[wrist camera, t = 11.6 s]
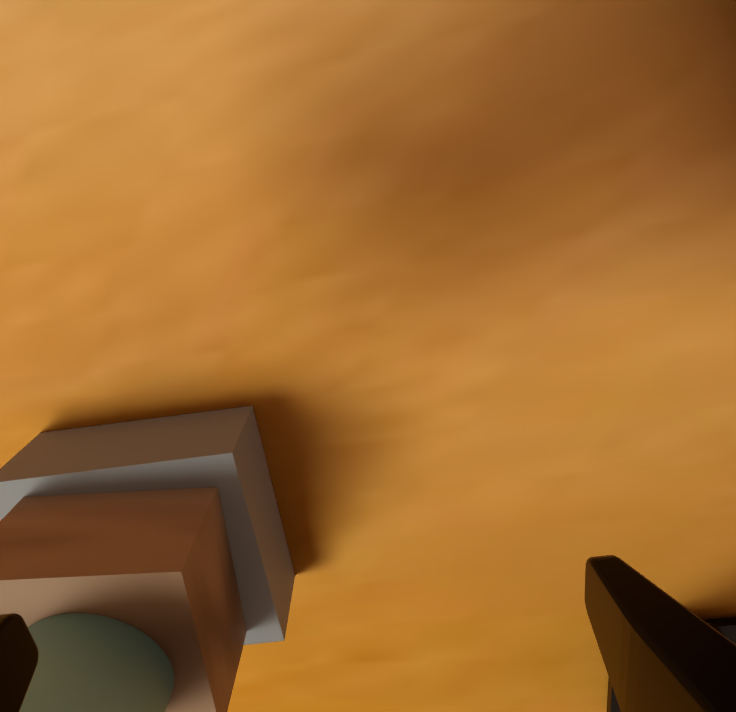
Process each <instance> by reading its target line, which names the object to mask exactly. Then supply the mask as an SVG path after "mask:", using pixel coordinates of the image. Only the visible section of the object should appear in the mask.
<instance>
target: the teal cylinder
mask: <svg viewBox="0 0 736 712" xmlns="http://www.w3.org/2000/svg"><path fill="white" fill-rule="evenodd" d="M28 629H29V631H30V633H31V635H32V637H33V639H34V641H35V643H36V645H37V647H38V652H39V657H38V663H37V667H36V669H35V672H34V675H33V677H32V680H31V682H30V685H29V688H28V690H27V693H26V696H25V698H24V701H23V703H22V706H21V709H20V711H19V712H165V711H166V708H167V705H168V703H169V700H170V697H171V694H172V691H173V688H174V672H173V667H172V665H171V663H170V660H169V659H168V657H167V655H166V654H165V652H164V651H163V650H162V649H161V647H160V646H159V645H158V644H157V643H156V642H155V641H154V640H153V639H151V638H150V637H149V636H147V635H146V634H145V633H143V632H142V631H140V630H138V629H137V628H135V627H133V626H131V625H129V624H127V623H124V622H122V621H119V620H116V619H113V618H110V617H106V616H102V615H96V614H88V613H66V614H59V615H54V616H50V617H47V618H44V619H41V620H39V621H37V622H35V623H34V624H32V625H31V626H29V627H28Z"/></svg>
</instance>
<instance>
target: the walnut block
mask: <svg viewBox="0 0 736 712" xmlns="http://www.w3.org/2000/svg"><path fill="white" fill-rule="evenodd" d="M10 613H16V614H19V615H20V616H22V618H23V619H24V621H25V623H26V625H27V627H29V626H31V625H32V624H34V623H35V622H37V621H39V620H41V619H44V618H47V617H50V616H54V615H59V614H66V613H88V614H96V615H102V616H106V617H110V618H113V619H116V620H119V621H122V622H124V623H127V624H129V625H131V626H133V627H135V628H137V629H138V630H140V631H142V632H143V633H145V634H146V635H147V636H149V637H150V638H151V639H153V640H154V641H155V642H156V643H157V644H158V645H159V646H160V647H161V649H162V650H163V651H164V652H165V654H166V655H167V657H168V659H169V660H170V663H171V665H172V667H173V672H174V688H173V691H172V694H171V697H170V700H169V703H168V705H167V708H166V711H165V712H227V710H228V706H229V702H230V698H231V693H232V689H233V685H234V681H235V677H236V673H237V669H238V665H239V661H240V657H241V653H242V649H243V645H244V641H245V636H246V632H247V630H246V625H245V620H244V615H243V610H242V605H241V600H240V595H239V590H238V585H237V580H236V575H235V571H234V566H233V561H232V556H231V551H230V546H229V541H228V536H227V531H226V526H225V521H224V516H223V511H222V506H221V501H220V496H219V491H218V487H207V488H188V489H169V490H150V491H130V492H111V493H92V494H72V495H53V496H34V497H23V498H22V499H21V500H20V501H19V502H18V503H17V504H16V505H15V506H14V507H13V508H12V509H11V510H10V512H9V513H8V514H7V515H6V516H5V517H4V518H3V519H2V520H1V521H0V614H10Z"/></svg>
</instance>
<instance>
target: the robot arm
mask: <svg viewBox="0 0 736 712" xmlns="http://www.w3.org/2000/svg"><path fill="white" fill-rule="evenodd" d="M585 604H586V609H587V613H588V616H589V619H590V622H591V625H592V628H593V631H594V634H595V637H596V640H597V643H598V646H599V649H600V652H601V655H602V658H603V661H604V663H605V666H606V669H607V672H608V675H609V681H608V699H607V712H736V618H725V619H714V620H702V619H700V618H699V617H698V616H696V615H695V614H694V613H692V612H691V611H690V610H688V609H687V608H686V607H684V606H683V605H682V604H680V603H679V602H678V601H676V600H675V599H674V598H672V597H671V596H670V595H668V594H667V593H666V592H664V591H663V590H662V589H660V588H659V587H657V586H656V585H655V584H653V583H652V582H651V581H649V580H648V579H647V578H645V577H644V576H643V575H641V574H640V573H639V572H637V571H636V570H635V569H633V568H632V567H631V566H629V565H628V564H627V563H625V562H624V561H623V560H621V559H620V558H618V557H616V556H613V555H607V556H597V557H590V558H589V559H588V560H587V562H586V572H585ZM38 657H39V652H38V647H37V645H36V643H35V641H34V639H33V637H32V635H31V633H30V631H29V629H28V627H27V625H26V623H25V621H24V619H23V618H22V616H20V615H19V614H16V613H10V614H0V712H19V711H20V709H21V706H22V703H23V701H24V698H25V696H26V693H27V690H28V688H29V685H30V682H31V680H32V677H33V675H34V672H35V669H36V667H37V663H38Z"/></svg>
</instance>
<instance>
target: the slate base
mask: <svg viewBox="0 0 736 712" xmlns="http://www.w3.org/2000/svg"><path fill="white" fill-rule="evenodd" d="M207 487H218V491H219V496H220V501H221V506H222V511H223V516H224V521H225V526H226V531H227V536H228V541H229V546H230V551H231V556H232V561H233V566H234V571H235V575H236V580H237V585H238V590H239V595H240V600H241V605H242V610H243V615H244V620H245V625H246V630H247V632H246V636H245V641H244V645H247V644H257V643H266V642H275V641H284V639H285V633H286V627H287V621H288V615H289V609H290V602H291V596H292V590H293V584H294V578H295V573H294V569H293V565H292V561H291V557H290V553H289V549H288V545H287V541H286V537H285V533H284V530H283V526H282V522H281V518H280V514H279V510H278V506H277V502H276V498H275V494H274V490H273V486H272V482H271V478H270V474H269V470H268V466H267V462H266V458H265V454H264V450H263V446H262V442H261V438H260V434H259V430H258V426H257V422H256V418H255V414H254V410H253V406H245V407H237V408H230V409H222V410H214V411H206V412H198V413H190V414H183V415H175V416H167V417H159V418H151V419H143V420H136V421H128V422H120V423H112V424H104V425H96V426H89V427H81V428H73V429H65V430H57V431H49V432H42V433H40V434H38V435H37V436H36V437H35V438H34V439H33V440H32V441H31V442H30V443H28V444H27V445H26V446H25V447H24V448H23V449H22V450H21V451H20V452H18V453H17V454H16V455H15V456H14V457H13V458H12V459H11V460H10V461H8V462H7V463H6V464H5V465H4V466H3V467H2V468H1V469H0V519H1V520H2V519H3V518H4V517H5V516H6V515H7V514H8V513H9V512H10V510H11V509H12V508H13V507H14V506H15V505H16V504H17V503H18V502H19V501H20V500H21V499H22V498H23V497H34V496H53V495H72V494H92V493H111V492H130V491H150V490H169V489H188V488H207Z"/></svg>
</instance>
